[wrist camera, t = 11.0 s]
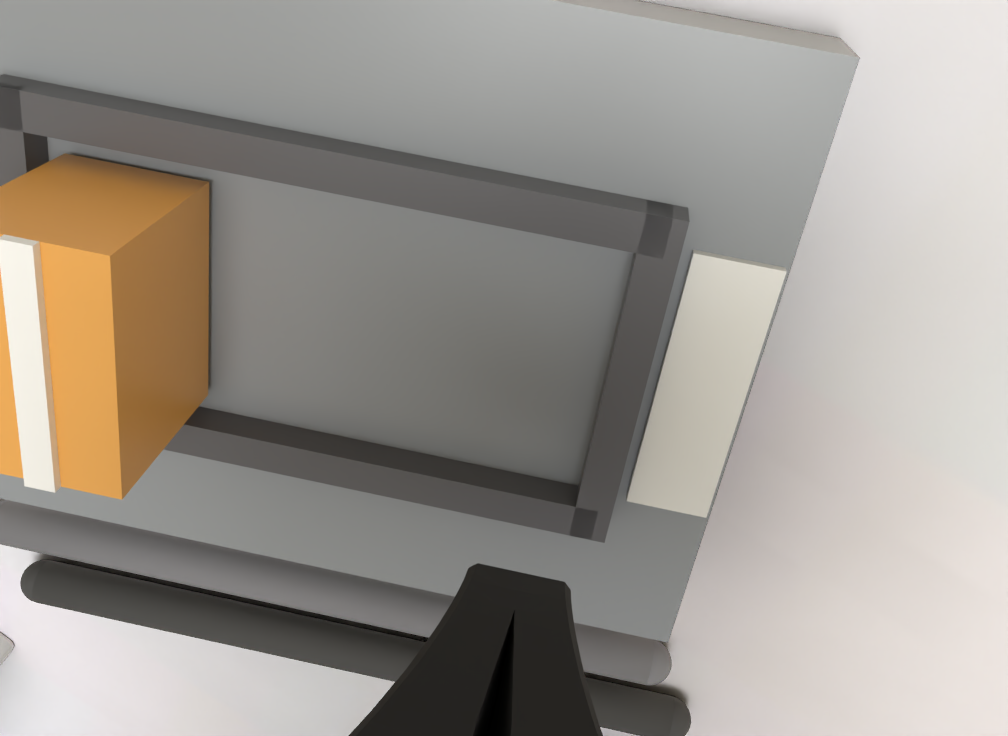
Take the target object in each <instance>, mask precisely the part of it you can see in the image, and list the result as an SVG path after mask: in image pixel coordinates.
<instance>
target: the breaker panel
mask: <svg viewBox="0 0 1008 736" xmlns="http://www.w3.org/2000/svg"><path fill="white" fill-rule="evenodd" d="M859 59H860V57H859V56H858V55H857V54H856V53H855V52H854V51H853V50H852V49H851V48H850V47H849V46H848V45H847V44H846V43H845V42H844V41H843V40H842V39H841V38H837V37H832V36H826V35H821V34H816V33H810V32H805V31H800V30H794V29H789V28H783V27H778V26H773V25H767V24H762V23H757V22H751V21H746V20H740V19H735V18H730V17H724V16H719V15H713V14H708V13H703V12H697V11H692V10H687V9H681V8H676V7H670V6H665V5H660V4H654V3H649V2H644V1H638V0H0V186H2V185H4V184H6V183H8V182H10V181H12V180H14V179H16V178H18V177H20V176H21V175H23V174H25V173H27V172H29V171H31V170H33V169H35V168H37V167H39V166H41V165H43V164H45V163H47V162H49V161H51V160H53V159H55V158H57V157H58V156H60V155H62V154H64V153H66V154H71V155H76V156H81V157H86V158H91V159H96V160H101V161H106V162H111V163H116V164H121V165H126V166H131V167H136V168H141V169H146V170H151V171H156V172H161V173H166V174H171V175H177V176H182V177H187V178H192V179H197V180H202V181H207V182H209V330H208V396H207V397H206V398H205V399H204V400H203V402H202V403H201V404H200V405H199V407H198V408H197V409H196V410H195V411H194V413H193V414H192V415H191V416H190V418H189V419H188V420H187V421H186V422H185V424H184V425H183V426H182V427H181V429H180V430H179V431H178V432H177V433H176V435H175V436H174V437H173V438H172V440H171V441H170V442H169V443H168V444H167V446H166V447H165V448H164V449H163V451H162V452H161V453H160V454H159V455H158V457H157V458H156V459H155V460H154V462H153V463H152V464H151V465H150V466H149V468H148V469H147V470H146V471H145V472H144V474H143V475H142V476H141V477H140V479H139V480H138V481H137V482H136V483H135V485H134V486H133V487H132V488H131V490H130V491H129V492H128V493H127V494H126V496H125V497H124V498H123V499H122V500H121V499H116V498H111V497H107V496H102V495H97V494H93V493H88V492H84V491H79V490H74V489H70V488H65V487H60V488H59V489H58V490H57V491H56V493H54V492H49V491H44V490H40V489H35V488H30V487H26V486H24V479H23V478H18V477H14V476H9V475H4V474H0V498H1V499H5V500H10V501H14V502H19V503H24V504H28V505H33V506H38V507H42V508H47V509H51V510H56V511H61V512H65V513H70V514H75V515H79V516H84V517H89V518H93V519H98V520H102V521H107V522H112V523H116V524H121V525H126V526H130V527H135V528H139V529H144V530H149V531H153V532H158V533H163V534H167V535H172V536H176V537H181V538H186V539H190V540H195V541H200V542H204V543H209V544H213V545H218V546H223V547H227V548H232V549H237V550H241V551H246V552H251V553H255V554H260V555H264V556H269V557H274V558H278V559H283V560H288V561H292V562H297V563H301V564H306V565H311V566H315V567H320V568H325V569H329V570H334V571H338V572H343V573H348V574H352V575H357V576H362V577H366V578H371V579H376V580H380V581H385V582H389V583H394V584H399V585H403V586H408V587H413V588H417V589H422V590H426V591H431V592H436V593H440V594H445V595H450V596H454V597H455V596H456V594H457V592H458V590H459V588H460V586H461V584H462V582H463V580H464V578H465V575H466V573H467V570H468V568H469V567H471V566H473V565H475V564H477V563H479V564H484V565H489V566H493V567H498V568H503V569H507V570H512V571H517V572H521V573H526V574H531V575H535V576H540V577H545V578H549V579H554V580H559V581H563V582H565V583H566V584H567V586H568V587H569V588H570V590H571V603H572V613H573V620H574V622H575V623H579V624H584V625H588V626H593V627H598V628H602V629H607V630H612V631H616V632H621V633H625V634H630V635H635V636H639V637H644V638H649V639H653V640H658V641H663V642H667V643H668V641H669V638H670V635H671V632H672V629H673V626H674V623H675V620H676V617H677V613H678V610H679V607H680V604H681V601H682V598H683V595H684V592H685V589H686V586H687V583H688V580H689V577H690V574H691V571H692V568H693V565H694V562H695V559H696V556H697V553H698V549H699V546H700V543H701V540H702V537H703V534H704V531H705V528H706V525H707V522H708V519H709V516H710V513H711V510H712V507H713V504H714V501H715V498H716V495H717V492H718V488H719V485H720V482H721V479H722V476H723V473H724V470H725V467H726V464H727V461H728V458H729V455H730V452H731V449H732V446H733V443H734V440H735V437H736V434H737V431H738V428H739V424H740V421H741V418H742V415H743V412H744V409H745V406H746V403H747V400H748V397H749V394H750V391H751V388H752V385H753V382H754V379H755V376H756V373H757V370H758V367H759V363H760V360H761V357H762V354H763V351H764V348H765V345H766V342H767V339H768V336H769V333H770V330H771V327H772V324H773V321H774V318H775V315H776V312H777V309H778V306H779V303H780V299H781V296H782V293H783V290H784V287H785V284H786V281H787V278H788V275H789V272H790V269H791V266H792V263H793V260H794V257H795V254H796V251H797V248H798V245H799V242H800V239H801V235H802V232H803V229H804V226H805V223H806V220H807V217H808V214H809V211H810V208H811V205H812V202H813V199H814V196H815V193H816V190H817V187H818V184H819V181H820V178H821V174H822V171H823V168H824V165H825V162H826V159H827V156H828V153H829V150H830V147H831V144H832V141H833V138H834V135H835V132H836V129H837V126H838V123H839V120H840V117H841V114H842V110H843V107H844V104H845V101H846V98H847V95H848V92H849V89H850V86H851V83H852V80H853V77H854V74H855V71H856V68H857V65H858V62H859Z"/></svg>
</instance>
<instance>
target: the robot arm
mask: <svg viewBox="0 0 1008 736" xmlns="http://www.w3.org/2000/svg"><path fill="white" fill-rule="evenodd" d="M349 736H603V735H602V732H601V729H600V726H599V723H598V719H597V716H596V713H595V709H594V706H593V702H592V699H591V695H590V692H589V688H588V685H587V681H586V678H585V674H584V670H583V665H582V661H581V657H580V652H579V647H578V643H577V638H576V632H575V626H574V620H573V613H572V603H571V590H570V588H569V587H568V586H567V584H566V583H565V582H563V581H559V580H554V579H549V578H545V577H540V576H535V575H531V574H526V573H521V572H517V571H512V570H507V569H503V568H498V567H493V566H489V565H484V564H479V563H477V564H475V565H473V566H471V567H469V568H468V570H467V573H466V575H465V578H464V580H463V582H462V584H461V586H460V588H459V590H458V592H457V594H456V596H455V598H454V599H453V601H452V603H451V605H450V606H449V608H448V610H447V611H446V613H445V614H444V616H443V617H442V619H441V621H440V622H439V624H438V625H437V627H436V628H435V630H434V631H433V633H432V634H431V636H430V637H429V638H428V640H427V641H426V642H425V644H424V645H423V647H422V648H421V649H420V651H419V652H418V654H417V655H416V656H415V658H414V659H413V661H412V662H411V663H410V665H409V666H408V667H407V669H406V670H405V671H404V672H403V674H402V675H401V676H400V677H399V678H398V680H397V681H396V682H395V683H394V684H393V686H392V687H391V688H390V689H389V690H388V692H387V693H386V694H385V695H384V696H383V698H382V699H381V700H380V701H379V702H378V704H377V705H376V706H375V707H374V708H373V710H372V711H371V712H370V713H369V714H368V715H367V716H366V717H365V719H364V720H363V721H362V722H361V723H360V724H359V725H358V726H357V727H356V728H355V729H354V731H353V732H352V733H351V734H350V735H349Z"/></svg>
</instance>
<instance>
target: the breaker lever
mask: <svg viewBox="0 0 1008 736" xmlns="http://www.w3.org/2000/svg"><path fill="white" fill-rule="evenodd" d="M208 330H209V182H207V181H202V180H197V179H192V178H187V177H182V176H177V175H171V174H166V173H161V172H156V171H151V170H146V169H141V168H136V167H131V166H126V165H121V164H116V163H111V162H106V161H101V160H96V159H91V158H86V157H81V156H76V155H71V154H66V153H64V154H62V155H60V156H58V157H57V158H55V159H53V160H51V161H49V162H47V163H45V164H43V165H41V166H39V167H37V168H35V169H33V170H31V171H29V172H27V173H25V174H23V175H21V176H20V177H18V178H16V179H14V180H12V181H10V182H8V183H6V184H4V185H2V186H0V474H4V475H9V476H14V477H18V478H23V479H24V486H26V487H30V488H35V489H40V490H44V491H49V492H54V493H56V491H57V490H58V489H59V488H60V487H65V488H70V489H74V490H79V491H84V492H88V493H93V494H97V495H102V496H107V497H111V498H116V499H121V500H122V499H123V498H124V497H125V496H126V494H127V493H128V492H129V491H130V490H131V488H132V487H133V486H134V485H135V483H136V482H137V481H138V480H139V479H140V477H141V476H142V475H143V474H144V472H145V471H146V470H147V469H148V468H149V466H150V465H151V464H152V463H153V462H154V460H155V459H156V458H157V457H158V455H159V454H160V453H161V452H162V451H163V449H164V448H165V447H166V446H167V444H168V443H169V442H170V441H171V440H172V438H173V437H174V436H175V435H176V433H177V432H178V431H179V430H180V429H181V427H182V426H183V425H184V424H185V422H186V421H187V420H188V419H189V418H190V416H191V415H192V414H193V413H194V411H195V410H196V409H197V408H198V407H199V405H200V404H201V403H202V402H203V400H204V399H205V398H206V397H207V396H208Z"/></svg>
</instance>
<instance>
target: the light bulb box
mask: <svg viewBox="0 0 1008 736" xmlns="http://www.w3.org/2000/svg"><path fill="white" fill-rule="evenodd" d="M13 648H14V644H13V642H12V641H11V640H10V639H8V638H7V637H6V636H4V635H3V634H1V633H0V665H1V664H2V663H3V662H4V660H5V659H6V658H7V657H8V655H9V654H10V653H11V651H12V650H13Z"/></svg>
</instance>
